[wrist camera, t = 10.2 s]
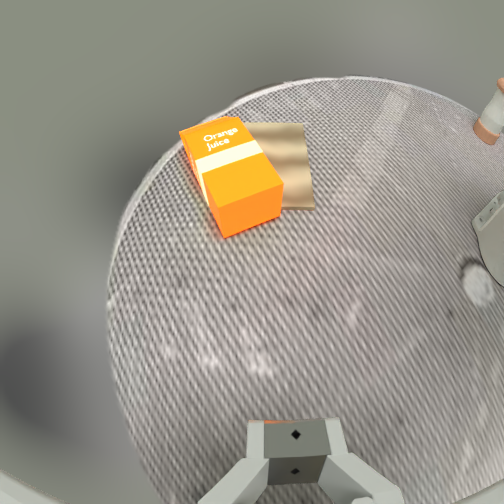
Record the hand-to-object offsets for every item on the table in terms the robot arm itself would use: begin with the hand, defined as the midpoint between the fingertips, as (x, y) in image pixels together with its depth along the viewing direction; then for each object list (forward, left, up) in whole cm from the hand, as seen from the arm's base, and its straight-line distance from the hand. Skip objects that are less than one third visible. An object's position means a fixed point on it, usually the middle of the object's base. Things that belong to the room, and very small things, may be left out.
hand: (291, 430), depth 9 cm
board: (-26, -27, -26) cm, 46 cm away
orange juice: (-15, -19, -22) cm, 33 cm away
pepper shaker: (-80, -1, -27) cm, 84 cm away
